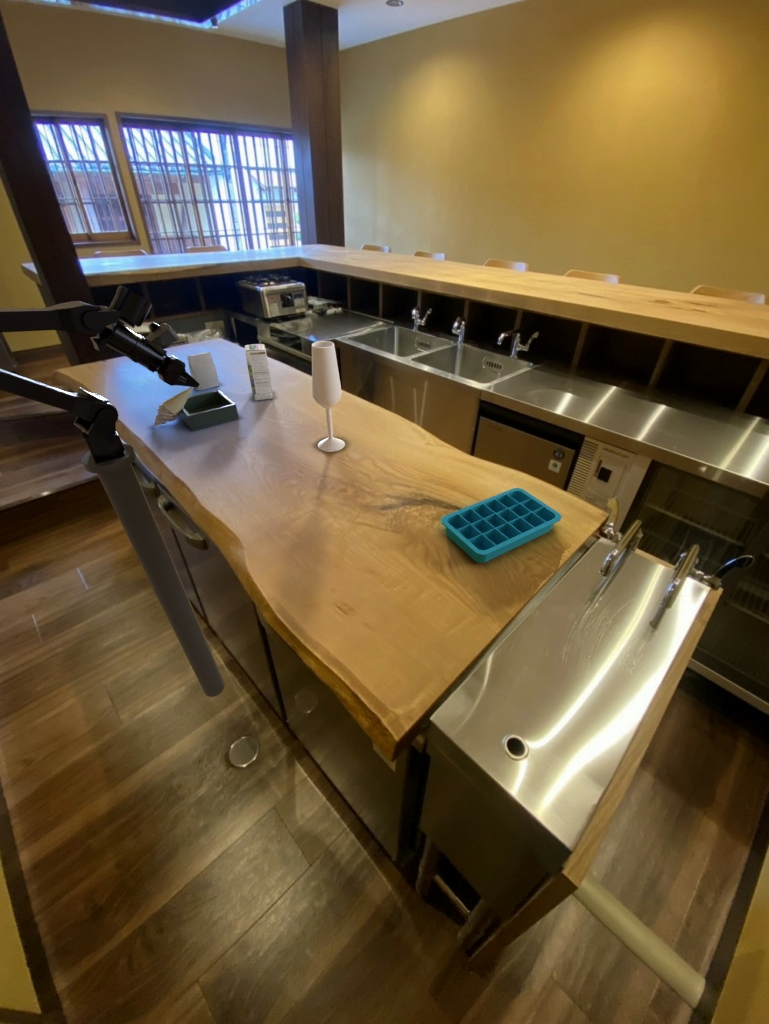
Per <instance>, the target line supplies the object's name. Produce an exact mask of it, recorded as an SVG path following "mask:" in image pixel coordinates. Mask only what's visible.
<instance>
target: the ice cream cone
mask: <svg viewBox="0 0 769 1024" xmlns="http://www.w3.org/2000/svg"><path fill="white" fill-rule="evenodd" d="M193 390H194V387H188V388H187V389H185V390H183V391H181V392H179V393H177V394H175V395H173V396H172V397H169V398H168V399H165V400H164V401H162V402H161V405H159V406H158V409H157V415H156V416H155V419H154V423H153V426H152V428H155V427H158V426H160V425H164V424H166V423H168V422H174V421H176V419H177V418H178V417H180V416H179V414H180V412H181V410H182V408H183V407H184V405H185V403H186V401H187V399H188V397H190V395H191V393H192V392H193Z"/></svg>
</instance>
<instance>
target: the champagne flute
mask: <svg viewBox="0 0 769 1024" xmlns="http://www.w3.org/2000/svg"><path fill="white" fill-rule="evenodd" d="M311 396H312V398H313V400H314V401H315V403H316V404H318V405H319V406H321V407H322V408H324V409H325V414H326V427H327V437H326V438H325V439H323V440H321V441H319V442H318V444H317V448H318V449H319V450H320V451H323V452H329V453H330V452H331V453H333V452H338V451H341V450H342V449H344V448H345V447H346V443H345V441H344V440H342V439H340V438H336V437H334V430H333V419H332V418H333V417H332V408H334V407H335V406H336V405H337V404H338V403H339V401H340V400H341V398H342V396H343V391H342V383H341V378H340V372H339V366H338V360H337V352H336V346H335V343H334V342H333V341H329V340H319V341H318V340H317V341H314V342H312V343H311Z"/></svg>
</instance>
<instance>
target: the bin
mask: <svg viewBox="0 0 769 1024" xmlns="http://www.w3.org/2000/svg"><path fill="white" fill-rule="evenodd" d="M178 417H180V418H181V419H182V421H183V422H184V423H185V424H186V426H187V427H188V428H189V429H190V430H191V431H192V432H193V431H194V432H195V431H197V430H201V429H205V428H208V427H213V426H216V425H219V424H223V423H226V422H231V421H235V420H238V419H240V418H239V412H238V408H237V404H236V403H235V402H234V401H233V400H232V399H230V397H228V395H226V394H225V393H224V392H222V391H221V389H216V390H212V391H208V392H204V393H203V392H202V393H200V394H195V395H191V396H190V395H189V397H188V399H187V401H186V403H185V405H184V407H183V408H182V410H181V412H180V414H179V416H178Z"/></svg>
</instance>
